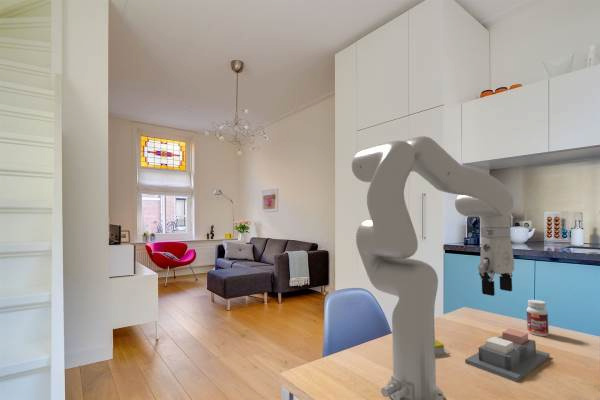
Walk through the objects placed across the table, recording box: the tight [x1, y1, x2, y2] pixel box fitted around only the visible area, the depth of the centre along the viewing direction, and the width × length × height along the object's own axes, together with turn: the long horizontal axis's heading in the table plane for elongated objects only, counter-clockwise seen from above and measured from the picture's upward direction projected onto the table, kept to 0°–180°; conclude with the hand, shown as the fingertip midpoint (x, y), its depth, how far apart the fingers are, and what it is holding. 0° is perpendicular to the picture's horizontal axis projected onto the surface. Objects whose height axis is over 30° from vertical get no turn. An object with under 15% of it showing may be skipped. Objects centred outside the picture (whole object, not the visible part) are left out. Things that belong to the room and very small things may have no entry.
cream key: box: [485, 336, 513, 355], centre depth 89 cm, size 5×5×3 cm
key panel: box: [464, 334, 550, 383], centre depth 92 cm, size 24×13×4 cm, turn 126°
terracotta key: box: [501, 328, 529, 345], centre depth 96 cm, size 5×5×3 cm
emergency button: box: [435, 339, 451, 356], centre depth 100 cm, size 9×4×15 cm
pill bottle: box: [526, 299, 550, 337], centre depth 113 cm, size 6×6×11 cm
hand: (497, 292), depth 92 cm, fingers open, 9 cm apart
